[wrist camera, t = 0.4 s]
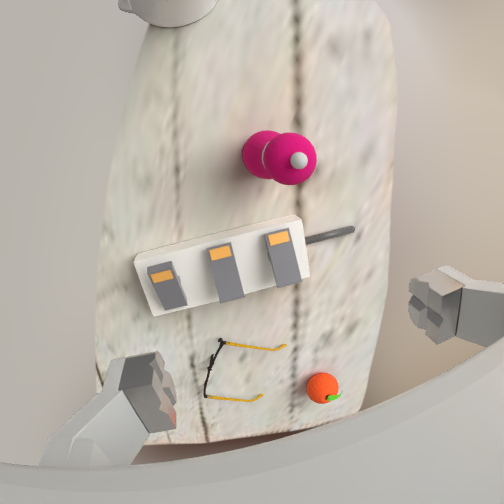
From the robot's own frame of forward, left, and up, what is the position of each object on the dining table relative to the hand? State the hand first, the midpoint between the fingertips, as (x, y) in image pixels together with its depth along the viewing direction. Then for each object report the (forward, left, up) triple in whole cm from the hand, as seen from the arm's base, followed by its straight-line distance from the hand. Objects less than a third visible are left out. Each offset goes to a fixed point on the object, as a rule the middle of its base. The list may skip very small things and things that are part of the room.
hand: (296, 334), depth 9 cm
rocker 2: (+13, -2, -37) cm, 40 cm away
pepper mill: (-2, +8, -44) cm, 45 cm away
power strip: (+14, +4, -44) cm, 46 cm away
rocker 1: (+13, -11, -37) cm, 41 cm away
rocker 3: (+13, +7, -37) cm, 40 cm away
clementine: (+47, +12, -44) cm, 65 cm away
